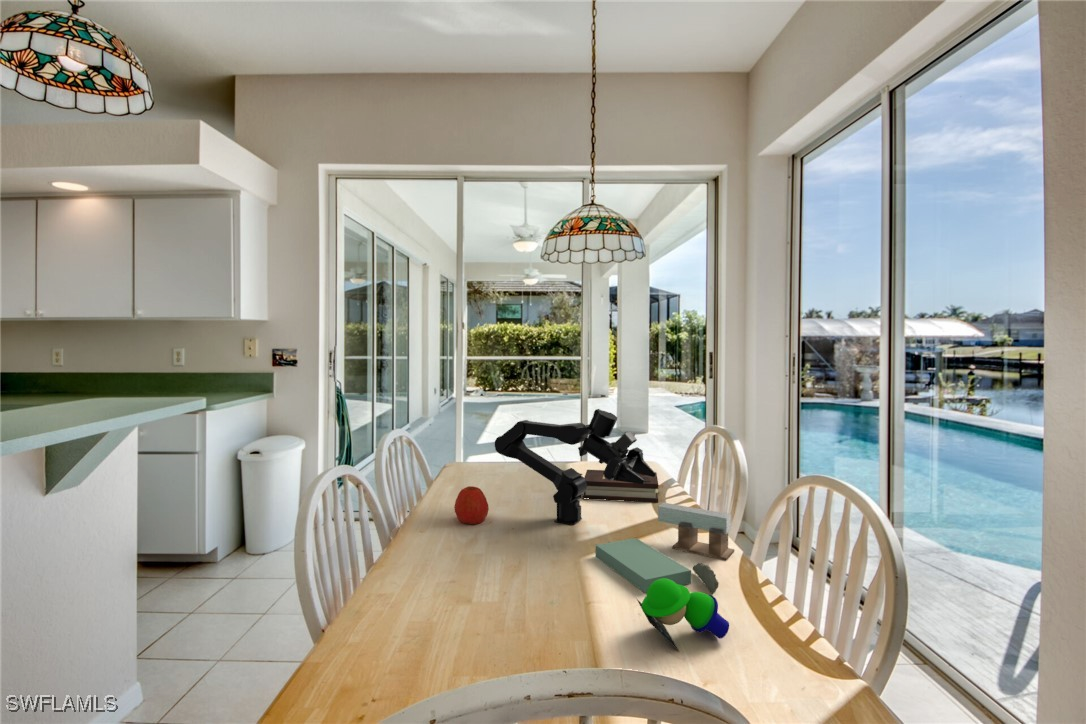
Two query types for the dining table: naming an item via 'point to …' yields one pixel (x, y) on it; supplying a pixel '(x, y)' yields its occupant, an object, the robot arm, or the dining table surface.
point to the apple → (471, 505)
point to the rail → (694, 517)
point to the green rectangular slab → (641, 563)
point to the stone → (706, 576)
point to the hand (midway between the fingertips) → (649, 478)
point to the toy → (681, 609)
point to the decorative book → (621, 488)
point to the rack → (713, 549)
